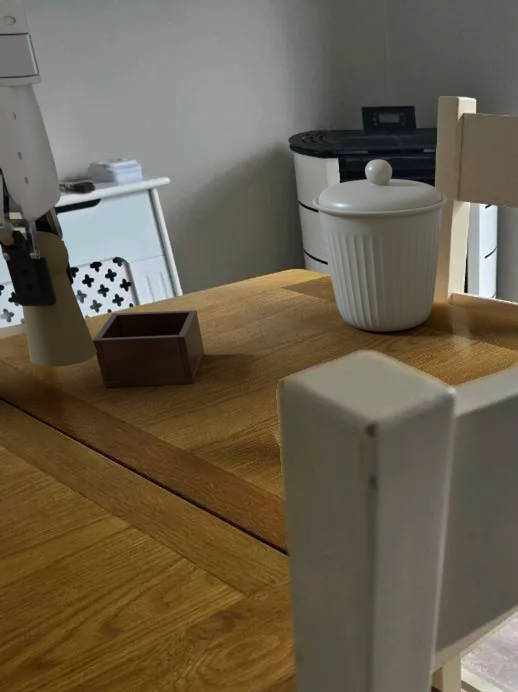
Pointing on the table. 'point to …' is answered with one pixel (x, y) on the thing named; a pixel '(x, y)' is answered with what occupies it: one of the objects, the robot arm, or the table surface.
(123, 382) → the box
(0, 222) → the robot arm
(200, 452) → the table surface
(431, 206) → the canister
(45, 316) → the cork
